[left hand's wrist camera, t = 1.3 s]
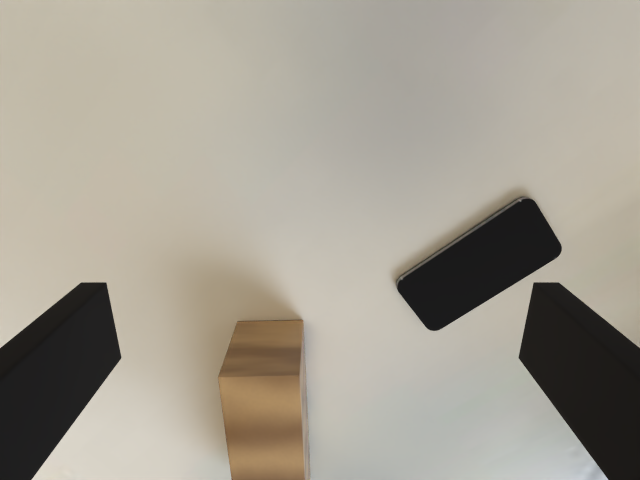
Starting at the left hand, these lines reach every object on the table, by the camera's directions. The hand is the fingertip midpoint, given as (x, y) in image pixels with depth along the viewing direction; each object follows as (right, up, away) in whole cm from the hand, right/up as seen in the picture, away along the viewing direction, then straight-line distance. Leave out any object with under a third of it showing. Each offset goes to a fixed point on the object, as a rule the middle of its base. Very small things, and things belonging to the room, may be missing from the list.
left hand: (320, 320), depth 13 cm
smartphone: (+15, 0, +28) cm, 31 cm away
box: (-5, -16, +33) cm, 37 cm away
